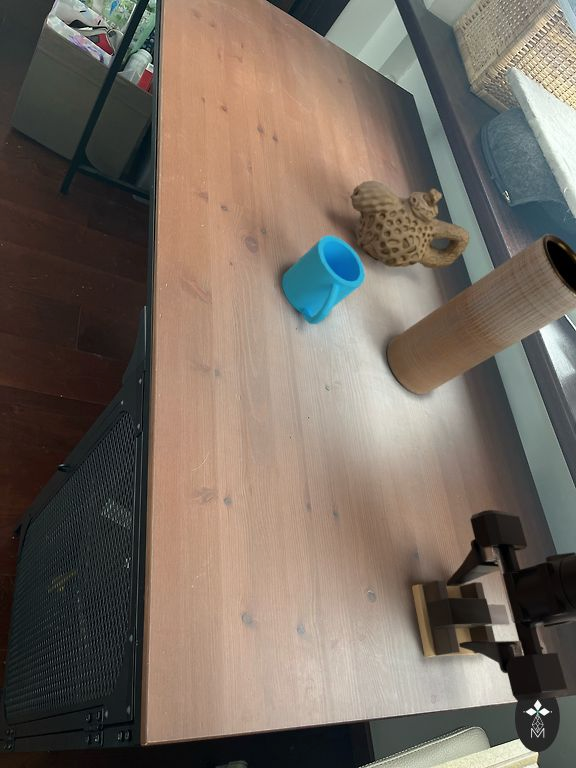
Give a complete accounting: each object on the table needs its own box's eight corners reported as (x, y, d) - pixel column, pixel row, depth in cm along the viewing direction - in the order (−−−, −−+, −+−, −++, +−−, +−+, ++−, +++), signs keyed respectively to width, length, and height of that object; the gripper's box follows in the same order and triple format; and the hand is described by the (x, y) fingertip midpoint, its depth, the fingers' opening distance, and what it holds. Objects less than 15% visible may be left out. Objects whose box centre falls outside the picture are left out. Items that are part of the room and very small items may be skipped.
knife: (430, 629, 69) (452, 624, 67) (425, 603, 71) (447, 597, 69) (506, 627, 77) (528, 623, 75) (500, 603, 79) (522, 599, 76)
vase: (436, 401, 96) (603, 310, 77) (391, 387, 91) (558, 285, 72) (425, 347, 101) (579, 249, 82) (381, 331, 96) (535, 221, 76)
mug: (285, 259, 89) (320, 225, 84) (329, 286, 93) (365, 255, 87) (275, 321, 82) (313, 288, 76) (323, 348, 86) (363, 318, 80)
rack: (464, 588, 81) (485, 582, 79) (479, 654, 77) (502, 650, 75) (411, 586, 76) (432, 580, 73) (424, 657, 72) (447, 653, 69)
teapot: (322, 240, 97) (389, 177, 87) (328, 195, 104) (390, 132, 94) (419, 306, 106) (490, 256, 95) (419, 261, 113) (485, 210, 102)
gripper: (652, 686, 61) (518, 698, 71) (590, 502, 69) (479, 538, 80) (592, 694, 55) (456, 707, 65) (532, 491, 63) (420, 532, 74)
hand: (455, 614), depth 71 cm, fingers open, 6 cm apart
